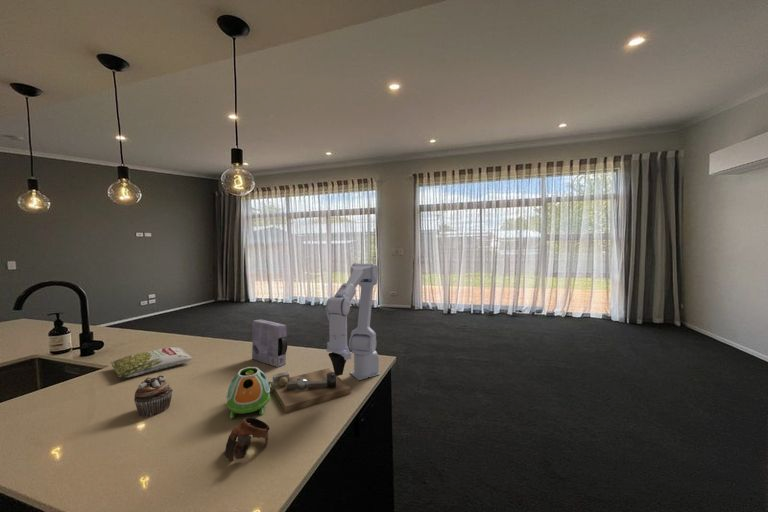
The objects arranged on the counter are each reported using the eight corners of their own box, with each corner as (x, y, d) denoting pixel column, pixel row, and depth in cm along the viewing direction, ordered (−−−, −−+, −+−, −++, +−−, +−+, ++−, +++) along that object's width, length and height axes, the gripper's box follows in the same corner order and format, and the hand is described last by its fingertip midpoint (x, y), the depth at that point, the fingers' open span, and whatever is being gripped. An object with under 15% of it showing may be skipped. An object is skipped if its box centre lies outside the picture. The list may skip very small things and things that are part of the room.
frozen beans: (109, 355, 126) (179, 341, 145) (110, 369, 126) (179, 352, 145) (118, 370, 112) (194, 352, 131) (119, 385, 113) (194, 365, 132)
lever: (336, 383, 106) (336, 371, 106) (335, 388, 102) (335, 376, 102) (288, 385, 105) (288, 373, 105) (286, 390, 101) (285, 378, 101)
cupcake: (130, 421, 88) (129, 388, 87) (139, 406, 96) (138, 375, 96) (170, 413, 92) (169, 381, 92) (175, 399, 101) (174, 369, 100)
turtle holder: (269, 388, 107) (268, 355, 106) (270, 415, 90) (270, 376, 90) (230, 395, 102) (229, 360, 102) (224, 425, 86) (223, 384, 85)
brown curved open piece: (226, 444, 78) (243, 411, 80) (260, 457, 79) (276, 424, 82) (212, 464, 67) (231, 425, 69) (252, 478, 68) (270, 439, 70)
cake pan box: (288, 364, 130) (288, 324, 129) (279, 368, 126) (278, 326, 125) (261, 356, 140) (260, 318, 140) (251, 359, 136) (250, 320, 135)
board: (328, 373, 120) (328, 360, 120) (350, 393, 103) (350, 378, 103) (271, 387, 108) (270, 373, 108) (285, 412, 91) (285, 396, 91)
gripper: (318, 330, 102) (319, 370, 102) (336, 341, 90) (336, 386, 90) (337, 327, 106) (338, 365, 106) (356, 337, 94) (357, 380, 94)
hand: (338, 374), depth 99 cm, fingers closed
